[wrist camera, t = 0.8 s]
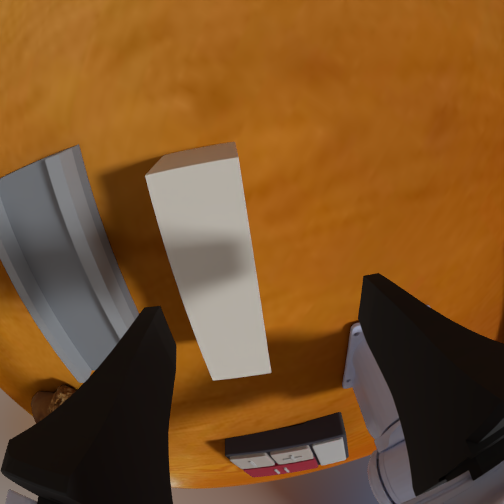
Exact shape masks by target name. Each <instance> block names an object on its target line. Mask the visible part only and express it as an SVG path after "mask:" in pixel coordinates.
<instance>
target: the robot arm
mask: <svg viewBox="0 0 504 504" xmlns="http://www.w3.org/2000/svg"><path fill="white" fill-rule="evenodd" d="M358 320H359V323H355V324H354V325H352V326H351V329H350V336H349V344H348V351H347V358H346V364H345V371H344V377H343V383H342V386H343V388H350V387H353V390H354V393H355V395H356V398H357V401H358V404H359V407H360V409H361V412H362V415H363V418H364V421H365V424H366V426H367V429H368V431H369V433H370V434H371V436H372V437H373V438H374V439H375V440H374V442H375V445H376V447H377V450H375V451H374V452H373V453H372V454H371V457H370V461H369V464H368V478H369V483H370V486H371V489H372V492H373V494H374V496H375V497H376V499H377V501H378V502H379V503H380V504H504V344H502V343H500V342H497V341H494V340H492V339H489V338H487V337H484V336H482V335H480V334H477V333H475V332H473V331H471V330H469V329H467V328H465V327H463V326H461V325H459V324H457V323H455V322H453V321H452V320H450V319H448V318H446V317H445V316H443V315H441V314H440V313H438V312H436V311H435V310H433V309H432V308H430V306H429V305H425V304H424V303H422V302H421V301H419V300H418V299H416V298H415V297H413V296H412V295H411V294H409V293H408V292H406V291H405V290H403V289H402V288H400V287H399V286H397V285H396V284H395V283H393V282H392V281H390V280H389V279H387V278H386V277H384V276H382V275H381V274H379V273H377V274H371V275H366V276H363V285H362V293H361V301H360V308H359V315H358ZM356 332H357V333H356ZM175 373H176V344H175V341H174V339H173V337H172V334H171V332H170V329H169V327H168V324H167V322H166V319H165V317H164V314H163V312H162V309H161V307H160V306H155V307H146V308H144V309H143V310H142V311H141V313H140V314H139V315H138V317H137V318H136V319H135V321H134V322H133V323H132V325H131V326H130V327H129V329H128V330H127V331H126V333H125V334H124V335H123V337H122V338H121V339H120V341H119V342H118V343H117V345H116V346H115V347H114V349H113V350H112V351H111V352H110V354H109V355H108V356H107V357H106V358H105V360H104V361H103V362H102V363H101V364H100V366H99V367H98V368H97V369H96V371H95V372H94V373H93V374H92V375H91V376H90V377H89V378H88V379H87V380H86V381H85V382H84V383H83V384H82V386H81V387H80V388H79V389H78V390H77V391H76V392H75V393H73V394H72V395H71V396H70V397H69V398H68V399H67V400H66V401H64V402H63V403H62V404H61V405H60V406H59V407H58V408H56V409H55V410H54V411H53V412H51V413H50V414H49V415H48V416H46V417H45V418H44V419H42V420H41V421H39V422H38V423H37V424H35V425H34V426H32V427H31V428H29V429H28V430H26V431H24V432H22V433H21V434H19V435H17V436H16V437H14V438H13V439H10V440H9V443H8V446H7V449H6V453H5V457H4V460H3V464H2V468H1V472H2V474H3V475H4V476H6V477H7V478H8V479H10V480H12V481H13V482H15V483H16V484H18V485H20V486H22V487H23V488H25V489H27V490H28V491H31V492H32V493H34V494H36V495H38V496H39V497H38V502H36V501H34V500H32V499H30V498H28V497H26V496H23V495H21V494H19V493H17V492H15V491H13V490H11V489H9V490H8V494H7V498H6V504H173V501H172V493H171V484H170V472H169V453H168V429H169V418H170V410H171V402H172V395H173V388H174V380H175Z"/></svg>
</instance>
